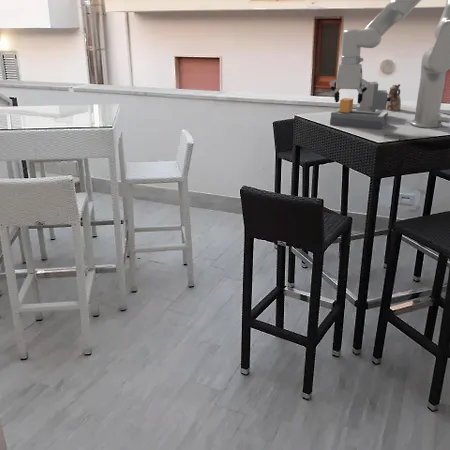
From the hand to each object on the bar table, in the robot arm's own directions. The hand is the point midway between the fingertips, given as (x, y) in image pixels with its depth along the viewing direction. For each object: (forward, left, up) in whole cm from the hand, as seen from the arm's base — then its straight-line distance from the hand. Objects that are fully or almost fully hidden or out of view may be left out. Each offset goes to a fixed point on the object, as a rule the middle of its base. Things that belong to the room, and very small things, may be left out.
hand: (348, 102), depth 211 cm
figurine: (-12, -39, -9) cm, 42 cm away
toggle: (+1, 0, -6) cm, 6 cm away
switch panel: (-5, 0, -9) cm, 11 cm away
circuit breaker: (-6, -20, -9) cm, 23 cm away
